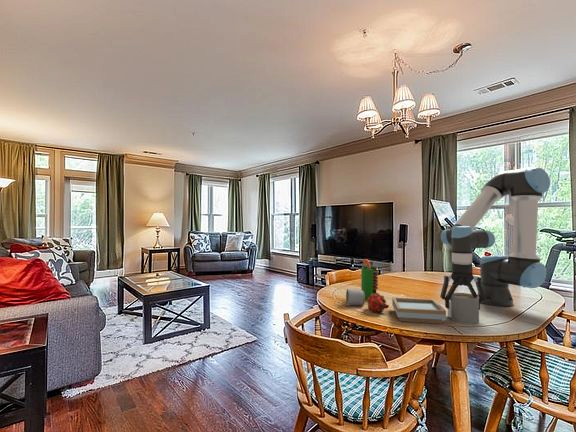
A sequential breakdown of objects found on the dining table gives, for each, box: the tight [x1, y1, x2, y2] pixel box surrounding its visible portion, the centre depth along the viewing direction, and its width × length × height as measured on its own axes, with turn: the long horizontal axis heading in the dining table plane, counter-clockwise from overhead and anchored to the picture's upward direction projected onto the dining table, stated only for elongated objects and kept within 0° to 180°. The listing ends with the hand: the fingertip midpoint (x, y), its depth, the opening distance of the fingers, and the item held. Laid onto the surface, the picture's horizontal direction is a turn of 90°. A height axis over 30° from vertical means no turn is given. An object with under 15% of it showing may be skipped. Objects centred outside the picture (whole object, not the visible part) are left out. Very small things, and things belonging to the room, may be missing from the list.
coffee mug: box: [450, 292, 480, 325], centre depth 130 cm, size 13×10×10 cm
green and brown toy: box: [360, 259, 379, 301], centre depth 165 cm, size 10×9×20 cm
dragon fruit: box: [366, 292, 390, 314], centre depth 141 cm, size 8×8×12 cm
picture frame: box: [391, 297, 447, 324], centre depth 133 cm, size 18×18×6 cm
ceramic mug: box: [345, 288, 366, 306], centre depth 153 cm, size 11×8×8 cm
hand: (462, 316), depth 130 cm, fingers open, 9 cm apart
